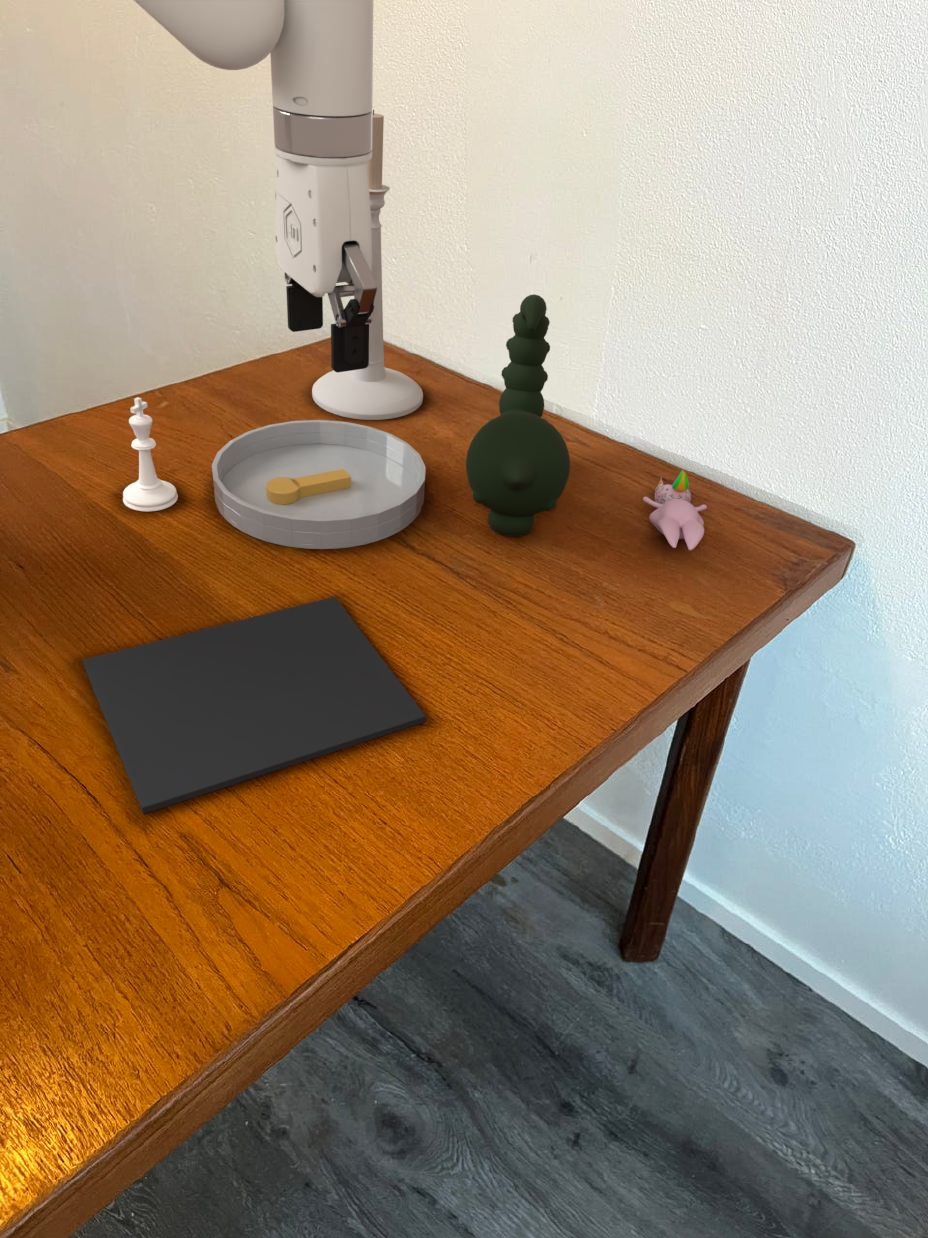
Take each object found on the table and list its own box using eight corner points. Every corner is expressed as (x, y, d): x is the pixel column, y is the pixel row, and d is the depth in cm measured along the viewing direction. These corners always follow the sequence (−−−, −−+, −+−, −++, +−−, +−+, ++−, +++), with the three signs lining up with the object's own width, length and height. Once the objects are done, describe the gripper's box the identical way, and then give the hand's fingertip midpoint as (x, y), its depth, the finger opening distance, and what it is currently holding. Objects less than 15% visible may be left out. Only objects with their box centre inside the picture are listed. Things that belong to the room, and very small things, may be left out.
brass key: (273, 507, 91) (273, 496, 90) (261, 491, 93) (260, 480, 92) (354, 491, 94) (354, 480, 94) (340, 476, 96) (340, 465, 96)
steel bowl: (258, 569, 83) (256, 539, 81) (187, 465, 97) (184, 438, 95) (461, 522, 92) (463, 494, 90) (369, 433, 106) (370, 408, 104)
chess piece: (188, 494, 92) (178, 395, 86) (154, 517, 89) (141, 415, 83) (146, 480, 94) (134, 382, 88) (111, 502, 90) (95, 401, 84)
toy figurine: (471, 456, 107) (454, 562, 85) (488, 277, 97) (473, 347, 75) (557, 465, 106) (561, 574, 85) (582, 287, 97) (594, 359, 75)
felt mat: (143, 814, 61) (141, 808, 60) (83, 665, 71) (82, 659, 71) (426, 722, 69) (426, 715, 69) (334, 602, 80) (334, 596, 80)
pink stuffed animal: (636, 504, 100) (643, 560, 87) (647, 448, 98) (656, 498, 84) (697, 512, 100) (713, 570, 87) (709, 456, 97) (728, 507, 84)
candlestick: (437, 386, 117) (455, 109, 99) (399, 428, 107) (412, 128, 89) (339, 366, 120) (339, 92, 102) (293, 405, 110) (285, 109, 92)
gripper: (238, 113, 79) (251, 320, 90) (322, 162, 68) (326, 393, 78) (324, 111, 83) (327, 310, 93) (418, 157, 71) (410, 379, 81)
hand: (327, 348), depth 85 cm, fingers open, 9 cm apart
